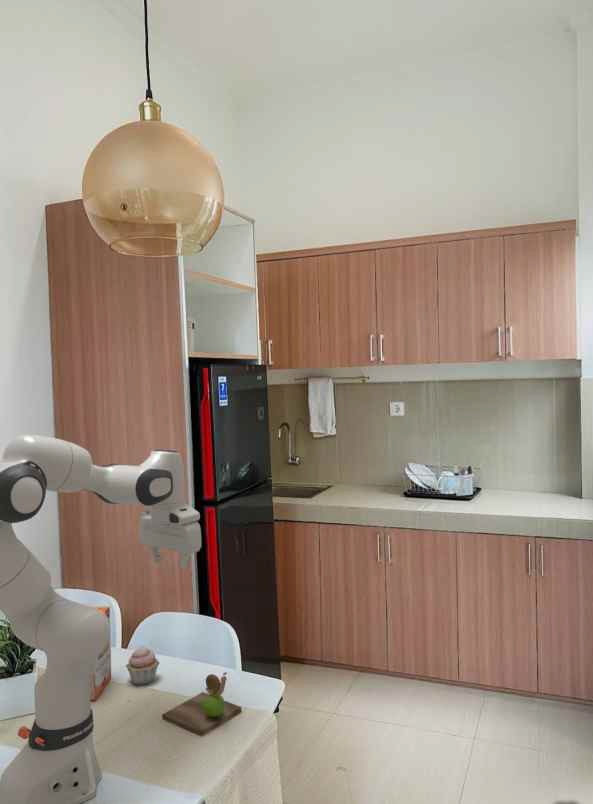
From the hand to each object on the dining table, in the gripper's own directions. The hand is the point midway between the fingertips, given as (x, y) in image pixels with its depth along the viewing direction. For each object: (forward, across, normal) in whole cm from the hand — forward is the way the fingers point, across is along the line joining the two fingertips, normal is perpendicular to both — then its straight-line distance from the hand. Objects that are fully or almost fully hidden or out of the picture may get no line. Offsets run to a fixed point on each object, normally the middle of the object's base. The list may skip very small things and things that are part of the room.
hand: (170, 565), depth 169 cm
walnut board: (+37, +9, +1) cm, 38 cm away
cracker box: (+37, -26, -6) cm, 46 cm away
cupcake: (+37, -19, +5) cm, 42 cm away
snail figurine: (+36, +14, +1) cm, 39 cm away
